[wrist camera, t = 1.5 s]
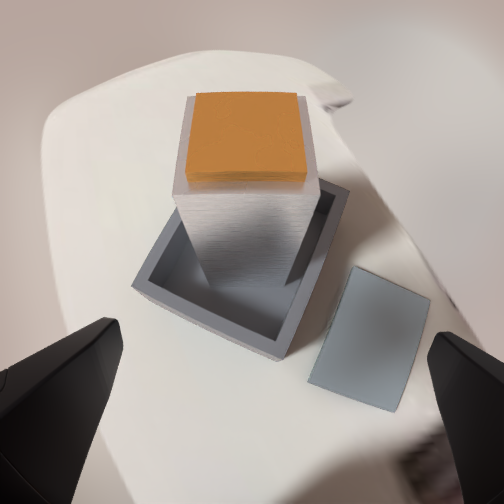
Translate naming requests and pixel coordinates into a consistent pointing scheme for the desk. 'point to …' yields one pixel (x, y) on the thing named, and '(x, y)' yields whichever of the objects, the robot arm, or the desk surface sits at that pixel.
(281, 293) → the case
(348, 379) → the mat
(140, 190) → the desk surface
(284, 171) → the block
